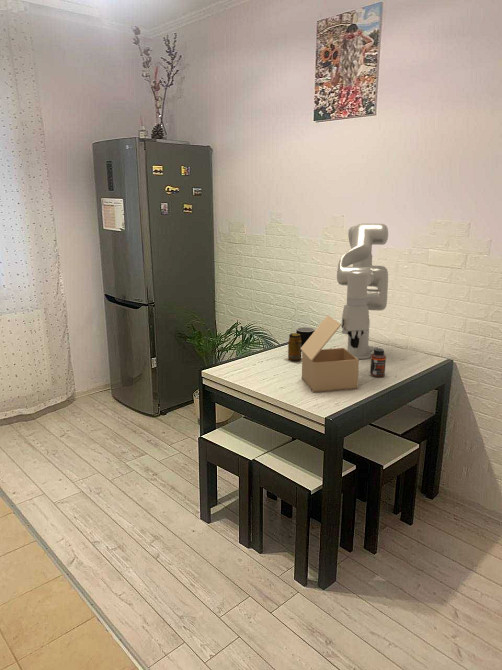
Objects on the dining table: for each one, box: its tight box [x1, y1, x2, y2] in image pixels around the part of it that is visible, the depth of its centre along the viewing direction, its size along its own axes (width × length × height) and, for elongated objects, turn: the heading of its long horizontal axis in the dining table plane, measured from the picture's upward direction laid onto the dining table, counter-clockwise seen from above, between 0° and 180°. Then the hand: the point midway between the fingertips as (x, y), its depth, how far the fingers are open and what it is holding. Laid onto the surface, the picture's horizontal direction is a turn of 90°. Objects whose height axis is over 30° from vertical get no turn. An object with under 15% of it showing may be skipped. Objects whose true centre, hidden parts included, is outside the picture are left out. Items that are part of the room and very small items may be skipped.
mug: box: [295, 326, 316, 352], centre depth 252 cm, size 12×9×10 cm
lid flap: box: [300, 314, 341, 360], centre depth 201 cm, size 18×15×1 cm
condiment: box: [284, 332, 302, 364], centre depth 234 cm, size 7×8×12 cm
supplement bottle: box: [369, 347, 387, 378], centre depth 214 cm, size 6×6×11 cm
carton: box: [301, 347, 360, 393], centre depth 205 cm, size 18×16×12 cm
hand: (354, 347), depth 204 cm, fingers closed
